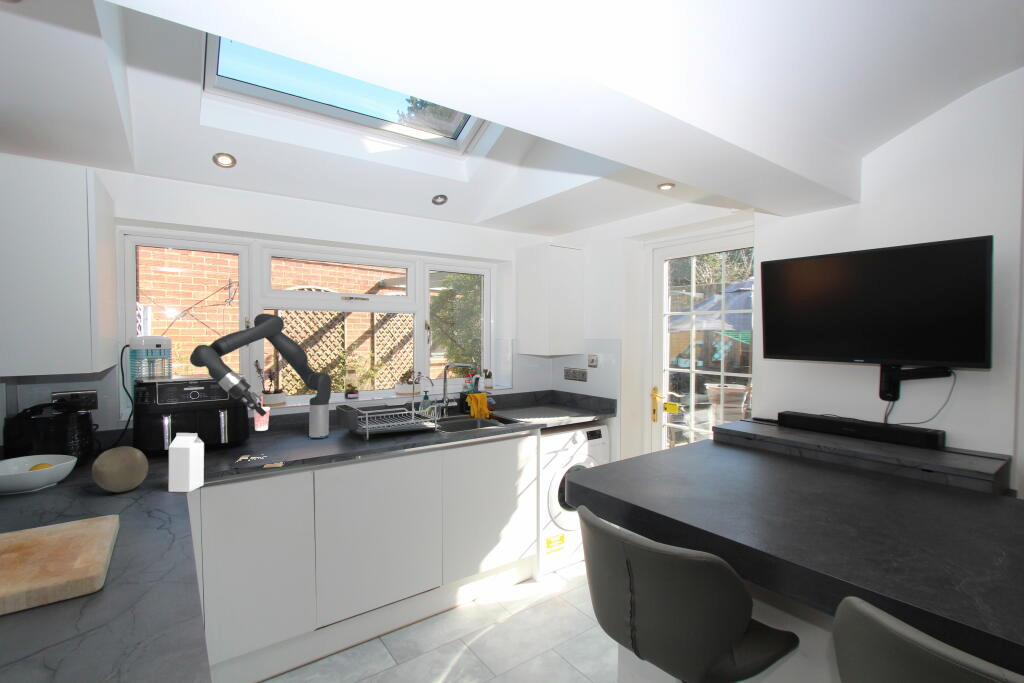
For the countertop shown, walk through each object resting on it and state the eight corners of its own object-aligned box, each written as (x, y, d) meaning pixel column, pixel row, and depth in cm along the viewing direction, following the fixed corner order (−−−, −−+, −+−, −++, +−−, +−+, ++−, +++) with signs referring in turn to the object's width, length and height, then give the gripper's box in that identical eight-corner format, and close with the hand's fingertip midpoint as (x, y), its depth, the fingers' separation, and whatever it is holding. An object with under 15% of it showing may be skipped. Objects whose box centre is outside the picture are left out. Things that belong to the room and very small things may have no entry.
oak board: (242, 457, 202) (242, 455, 202) (288, 455, 207) (288, 452, 207) (230, 469, 184) (230, 466, 184) (281, 466, 190) (281, 463, 190)
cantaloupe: (104, 488, 161) (104, 443, 160) (154, 484, 166) (154, 441, 165) (83, 502, 147) (83, 453, 147) (138, 497, 152) (139, 450, 152)
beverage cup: (265, 427, 200) (266, 394, 200) (272, 429, 196) (273, 395, 196) (250, 429, 195) (251, 395, 195) (256, 431, 191) (257, 397, 191)
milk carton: (189, 492, 157) (189, 435, 157) (168, 492, 158) (168, 435, 157) (203, 485, 164) (204, 431, 164) (183, 485, 165) (184, 430, 164)
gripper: (237, 380, 186) (270, 409, 190) (246, 376, 200) (276, 404, 203) (221, 393, 185) (255, 423, 188) (231, 389, 198) (262, 417, 202)
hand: (266, 413), depth 196 cm, fingers closed on beverage cup, 6 cm apart
